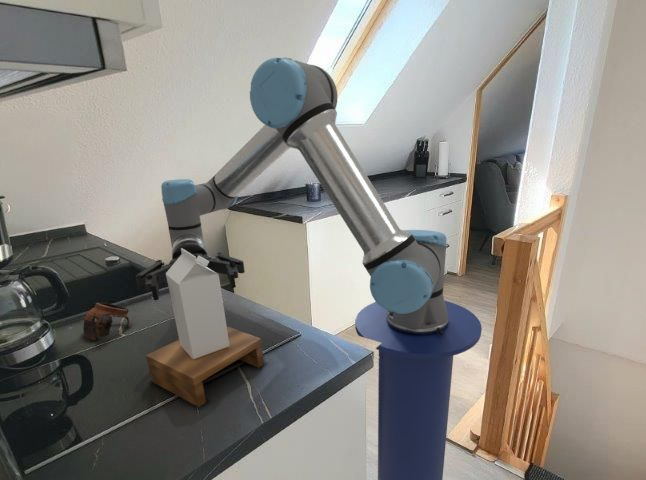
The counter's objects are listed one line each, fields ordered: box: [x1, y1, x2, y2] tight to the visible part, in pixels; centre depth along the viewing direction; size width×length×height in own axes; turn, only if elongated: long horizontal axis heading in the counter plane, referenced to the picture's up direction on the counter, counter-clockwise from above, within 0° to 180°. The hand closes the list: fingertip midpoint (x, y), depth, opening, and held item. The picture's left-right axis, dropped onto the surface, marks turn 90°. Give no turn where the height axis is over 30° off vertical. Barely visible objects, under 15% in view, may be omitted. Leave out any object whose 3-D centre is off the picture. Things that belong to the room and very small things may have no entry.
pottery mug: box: [82, 302, 131, 341], centre depth 96 cm, size 12×10×8 cm
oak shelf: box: [145, 326, 265, 408], centre depth 79 cm, size 14×16×6 cm
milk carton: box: [166, 248, 229, 359], centre depth 75 cm, size 7×7×19 cm
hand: (195, 287), depth 74 cm, fingers open, 13 cm apart
